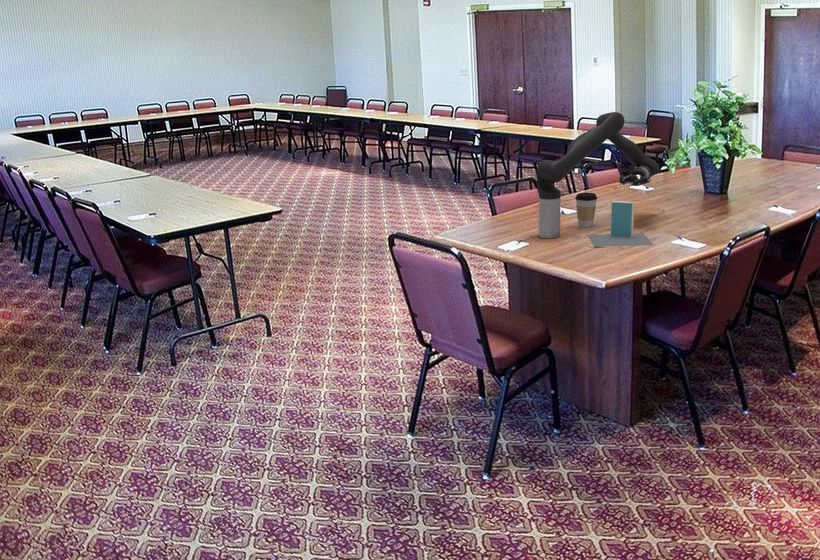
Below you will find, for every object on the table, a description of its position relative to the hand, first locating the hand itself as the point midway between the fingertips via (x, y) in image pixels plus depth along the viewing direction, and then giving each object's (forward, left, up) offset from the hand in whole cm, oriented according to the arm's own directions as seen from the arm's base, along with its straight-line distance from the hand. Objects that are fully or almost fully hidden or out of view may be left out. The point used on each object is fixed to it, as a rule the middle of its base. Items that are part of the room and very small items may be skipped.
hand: (629, 182), depth 335 cm
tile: (-4, -9, -21) cm, 24 cm away
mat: (-6, -15, -22) cm, 28 cm away
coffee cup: (-16, +13, -22) cm, 30 cm away
